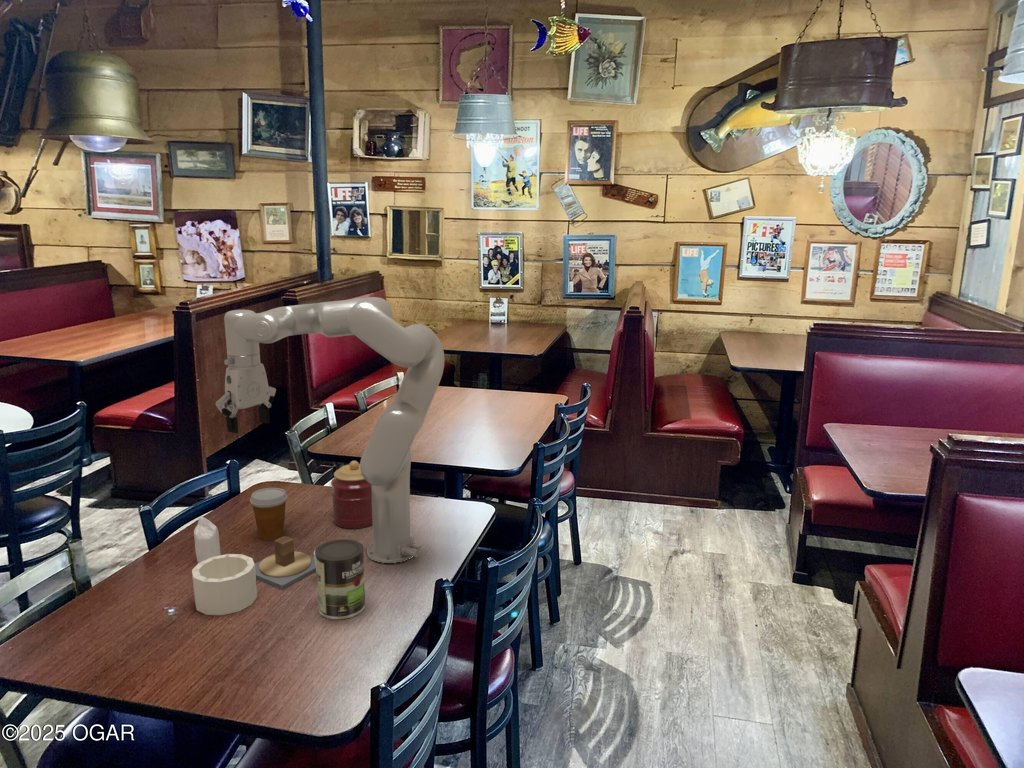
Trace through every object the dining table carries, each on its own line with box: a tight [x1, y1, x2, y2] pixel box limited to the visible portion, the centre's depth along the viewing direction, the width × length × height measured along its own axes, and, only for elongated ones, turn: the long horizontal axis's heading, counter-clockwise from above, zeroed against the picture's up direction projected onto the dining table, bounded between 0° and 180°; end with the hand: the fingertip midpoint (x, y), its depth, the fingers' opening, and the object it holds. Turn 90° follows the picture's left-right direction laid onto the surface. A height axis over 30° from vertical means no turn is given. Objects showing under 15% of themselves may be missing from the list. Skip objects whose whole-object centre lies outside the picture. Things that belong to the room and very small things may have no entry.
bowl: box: [191, 553, 258, 616], centre depth 166 cm, size 13×13×8 cm
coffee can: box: [314, 538, 366, 621], centre depth 163 cm, size 10×10×14 cm
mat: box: [254, 549, 317, 590], centre depth 181 cm, size 14×14×1 cm
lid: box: [259, 535, 311, 578], centre depth 180 cm, size 12×12×7 cm
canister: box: [330, 460, 373, 529], centre depth 207 cm, size 13×13×18 cm
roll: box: [193, 515, 222, 564], centre depth 184 cm, size 6×12×6 cm
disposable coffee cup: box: [249, 487, 288, 541], centre depth 198 cm, size 10×10×12 cm
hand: (249, 427), depth 185 cm, fingers open, 9 cm apart
